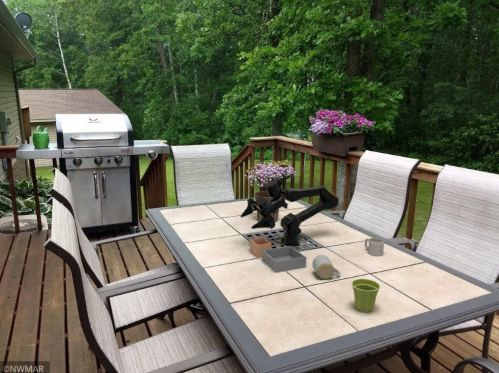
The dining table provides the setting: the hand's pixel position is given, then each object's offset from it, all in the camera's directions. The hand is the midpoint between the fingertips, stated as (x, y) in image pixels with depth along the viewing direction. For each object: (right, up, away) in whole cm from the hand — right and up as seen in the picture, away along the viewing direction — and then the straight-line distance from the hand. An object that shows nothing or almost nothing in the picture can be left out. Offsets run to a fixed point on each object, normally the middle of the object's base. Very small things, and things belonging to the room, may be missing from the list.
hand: (246, 222), depth 182 cm
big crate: (+16, -18, -10) cm, 26 cm away
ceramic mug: (+33, -20, -21) cm, 44 cm away
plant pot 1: (+12, -4, +53) cm, 55 cm away
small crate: (+7, -15, +2) cm, 16 cm away
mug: (+59, -15, +3) cm, 61 cm away
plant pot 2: (+41, -25, -46) cm, 67 cm away
